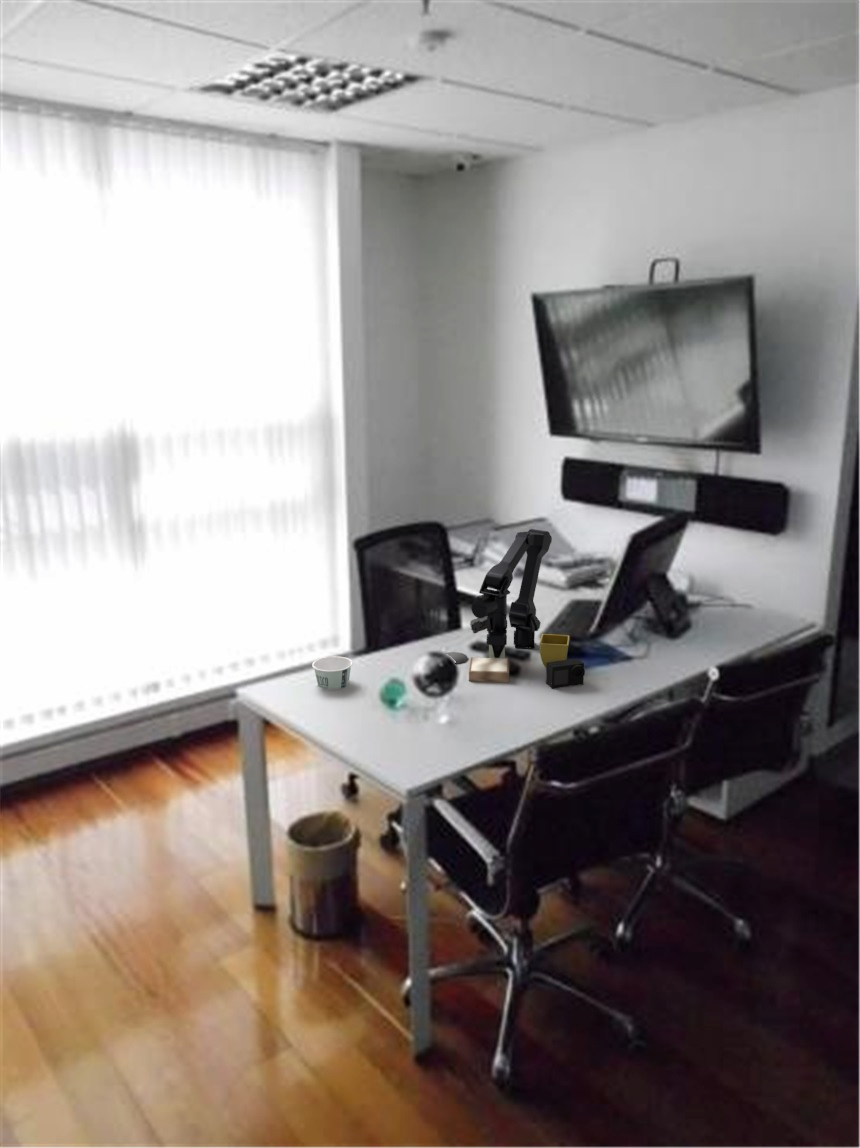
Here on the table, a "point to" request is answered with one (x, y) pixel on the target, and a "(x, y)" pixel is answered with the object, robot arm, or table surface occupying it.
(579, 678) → the digital camera
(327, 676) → the food container
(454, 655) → the coaster
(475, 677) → the plinth
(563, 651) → the flower pot
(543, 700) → the table surface
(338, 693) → the table surface
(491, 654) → the block
